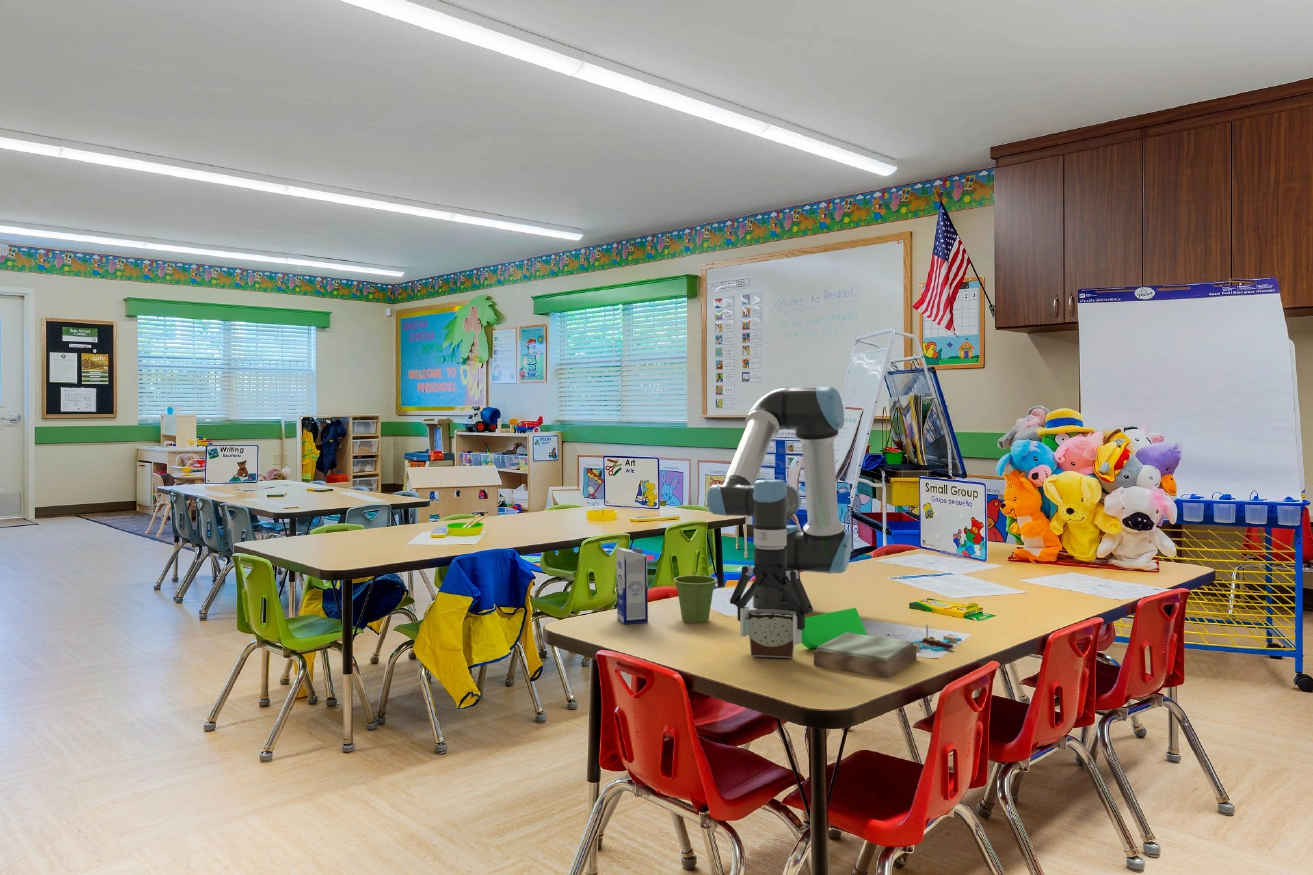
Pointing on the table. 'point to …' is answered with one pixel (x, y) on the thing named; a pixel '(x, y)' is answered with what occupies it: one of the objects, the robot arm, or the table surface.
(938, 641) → the toy boat
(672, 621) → the table surface
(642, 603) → the milk carton
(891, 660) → the stand
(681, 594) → the plant pot
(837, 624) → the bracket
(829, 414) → the robot arm
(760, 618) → the food container
